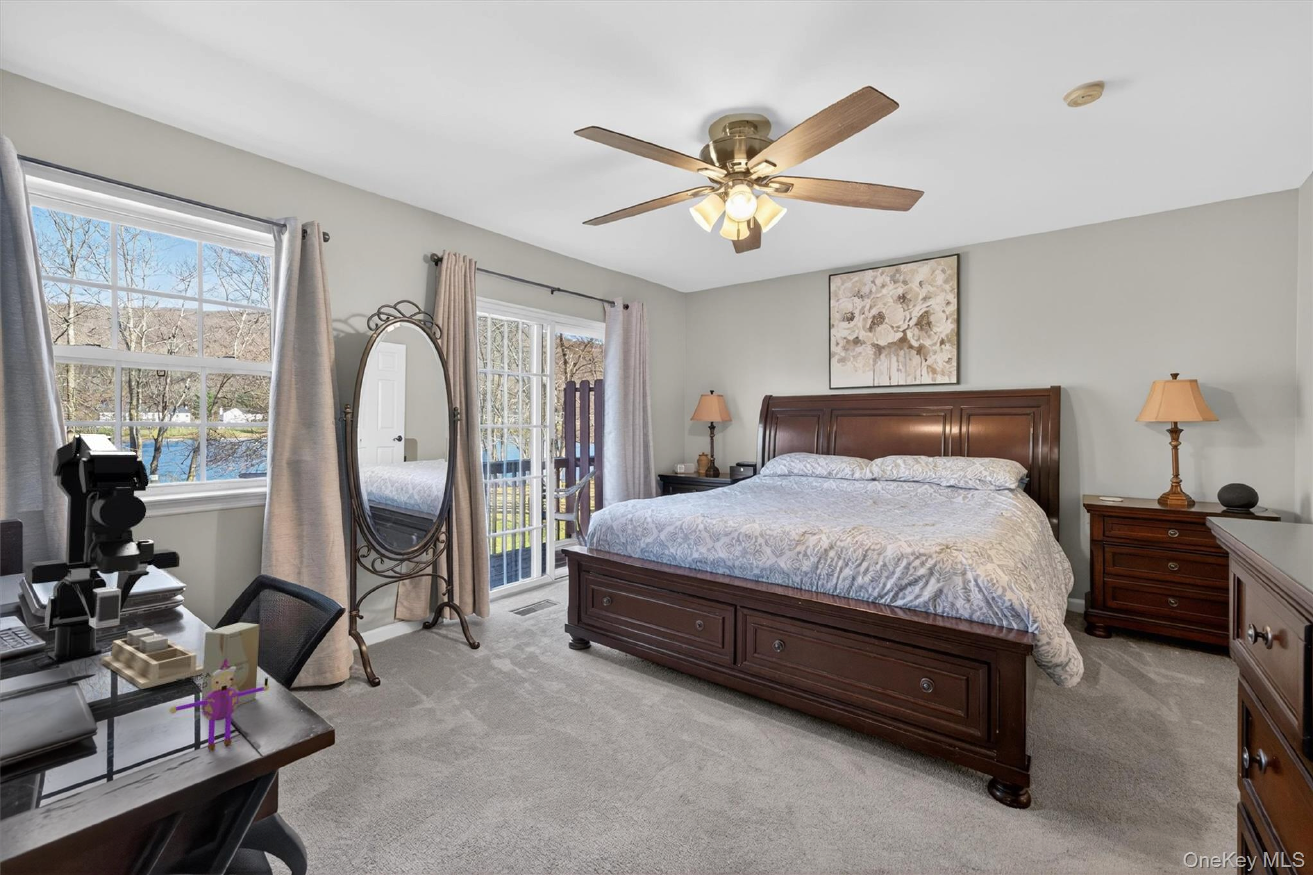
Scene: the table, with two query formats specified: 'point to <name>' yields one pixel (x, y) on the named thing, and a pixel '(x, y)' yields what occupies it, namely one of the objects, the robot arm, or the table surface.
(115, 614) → the grey rounded square block
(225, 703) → the wizard figurine
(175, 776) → the table surface
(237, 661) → the skincare box
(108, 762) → the table surface
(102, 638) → the table surface
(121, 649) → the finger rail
